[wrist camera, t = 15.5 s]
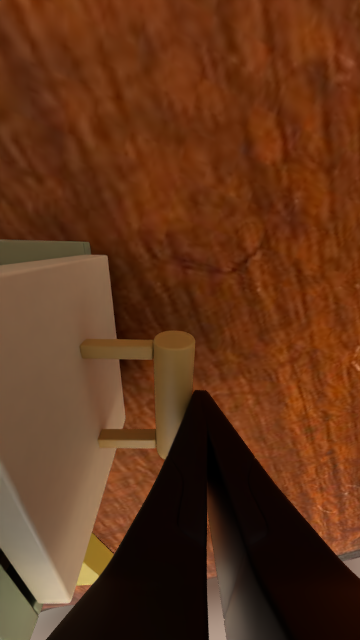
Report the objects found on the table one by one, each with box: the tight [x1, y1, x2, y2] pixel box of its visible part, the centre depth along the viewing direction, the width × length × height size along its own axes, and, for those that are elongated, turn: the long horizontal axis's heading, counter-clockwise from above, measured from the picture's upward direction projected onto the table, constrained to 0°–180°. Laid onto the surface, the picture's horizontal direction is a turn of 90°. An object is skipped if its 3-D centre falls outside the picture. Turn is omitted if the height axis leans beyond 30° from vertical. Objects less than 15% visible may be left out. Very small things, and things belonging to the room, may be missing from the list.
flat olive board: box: [76, 533, 114, 586], centre depth 19 cm, size 12×2×24 cm
